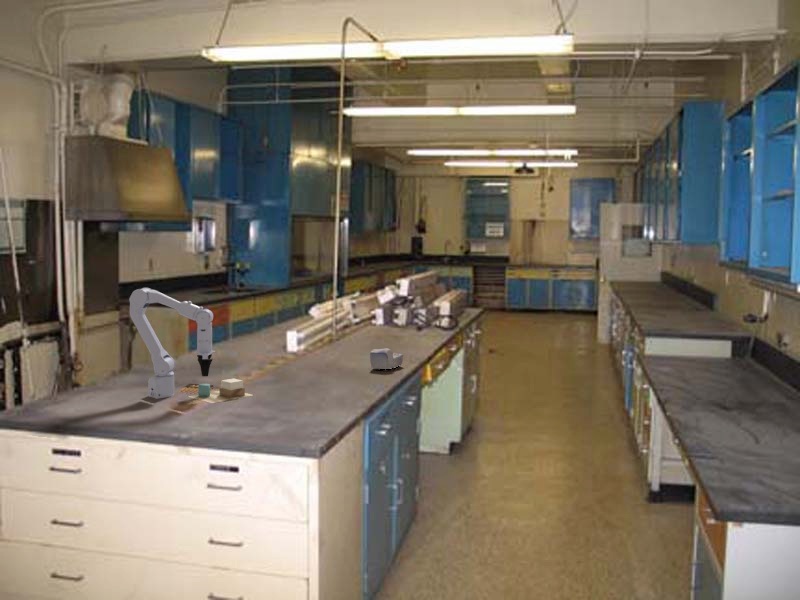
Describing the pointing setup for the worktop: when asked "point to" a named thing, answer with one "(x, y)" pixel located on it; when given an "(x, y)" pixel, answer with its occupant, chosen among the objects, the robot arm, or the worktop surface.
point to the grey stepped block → (385, 359)
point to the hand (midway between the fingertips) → (204, 374)
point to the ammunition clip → (191, 388)
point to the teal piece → (204, 390)
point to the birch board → (216, 397)
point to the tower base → (232, 392)
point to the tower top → (231, 384)
